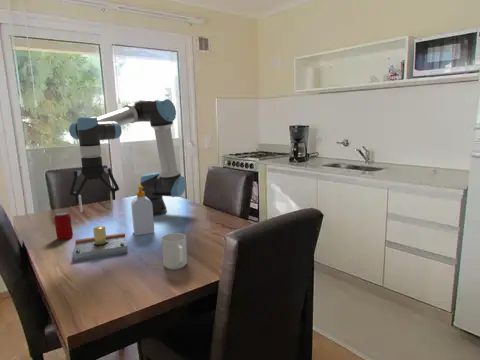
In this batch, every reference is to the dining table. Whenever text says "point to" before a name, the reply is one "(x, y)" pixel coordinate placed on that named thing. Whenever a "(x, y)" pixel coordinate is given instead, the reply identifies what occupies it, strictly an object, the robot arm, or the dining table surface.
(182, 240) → the mug
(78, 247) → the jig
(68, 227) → the beverage can
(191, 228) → the dining table surface
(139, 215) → the soap bottle
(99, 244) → the brass cylinder
